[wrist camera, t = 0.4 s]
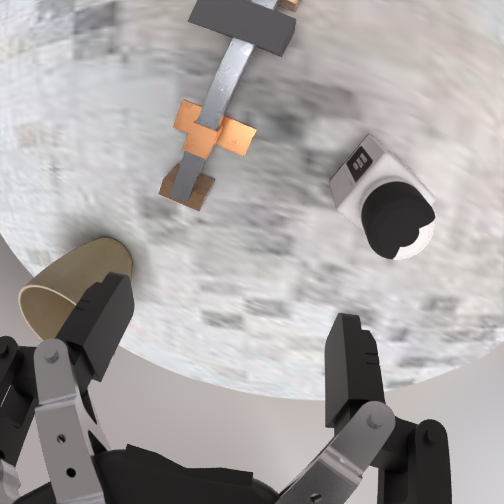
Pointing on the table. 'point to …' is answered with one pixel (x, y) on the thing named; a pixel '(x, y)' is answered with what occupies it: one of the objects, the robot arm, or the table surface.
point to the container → (384, 201)
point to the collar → (246, 23)
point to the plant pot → (69, 284)
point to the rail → (213, 124)
